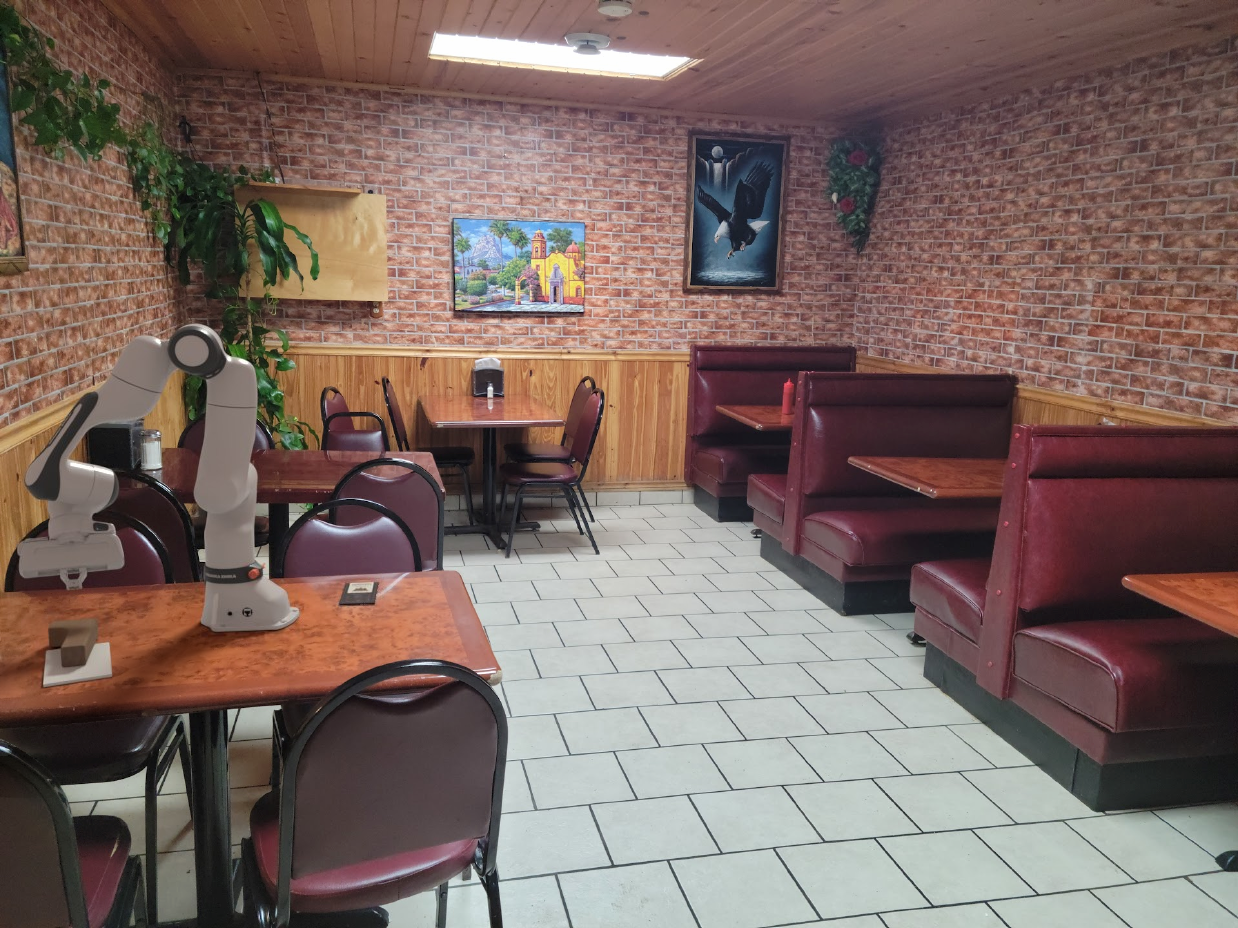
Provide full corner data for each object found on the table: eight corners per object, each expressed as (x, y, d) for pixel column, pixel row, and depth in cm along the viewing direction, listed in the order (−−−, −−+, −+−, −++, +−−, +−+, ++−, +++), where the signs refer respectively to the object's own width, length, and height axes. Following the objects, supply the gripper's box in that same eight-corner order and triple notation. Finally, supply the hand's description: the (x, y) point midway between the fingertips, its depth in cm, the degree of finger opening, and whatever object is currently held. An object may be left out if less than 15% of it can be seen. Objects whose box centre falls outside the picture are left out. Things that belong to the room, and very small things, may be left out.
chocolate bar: (338, 603, 236) (345, 583, 253) (338, 607, 236) (345, 586, 253) (374, 602, 238) (378, 582, 255) (374, 605, 238) (378, 585, 255)
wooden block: (53, 640, 205) (36, 670, 188) (51, 621, 204) (34, 649, 188) (98, 636, 208) (86, 665, 192) (97, 617, 207) (84, 645, 191)
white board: (46, 653, 199) (46, 650, 199) (109, 644, 205) (109, 641, 205) (43, 687, 182) (43, 684, 182) (112, 676, 188) (111, 673, 188)
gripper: (15, 532, 201) (16, 587, 194) (121, 523, 211) (125, 575, 204) (18, 547, 205) (19, 601, 198) (122, 538, 215) (126, 589, 209)
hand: (74, 588), depth 201 cm, fingers closed
